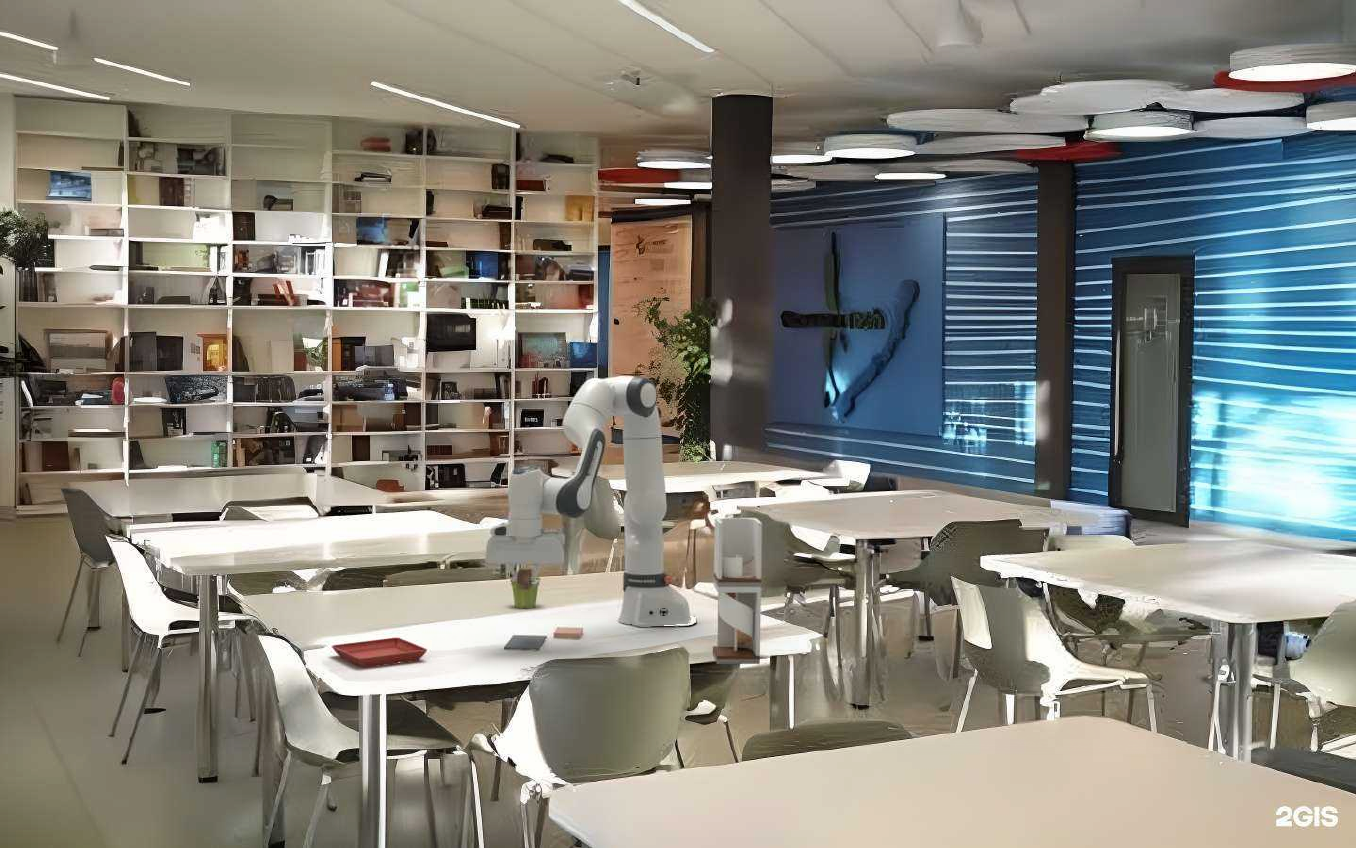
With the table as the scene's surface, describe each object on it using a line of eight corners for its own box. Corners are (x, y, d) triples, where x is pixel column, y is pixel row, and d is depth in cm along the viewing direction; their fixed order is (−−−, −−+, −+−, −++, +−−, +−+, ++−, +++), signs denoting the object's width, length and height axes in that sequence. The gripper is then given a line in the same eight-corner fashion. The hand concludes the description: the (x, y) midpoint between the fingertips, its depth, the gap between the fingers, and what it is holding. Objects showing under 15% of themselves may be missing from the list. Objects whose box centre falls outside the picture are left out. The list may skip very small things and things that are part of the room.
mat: (546, 638, 369) (546, 635, 369) (538, 650, 353) (538, 648, 353) (513, 637, 369) (513, 635, 369) (503, 649, 354) (503, 647, 353)
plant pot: (525, 610, 409) (525, 581, 409) (502, 607, 415) (503, 578, 415) (547, 606, 417) (547, 578, 417) (524, 603, 423) (524, 575, 422)
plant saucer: (359, 671, 328) (359, 657, 328) (330, 657, 343) (330, 644, 343) (428, 662, 339) (428, 649, 338) (397, 650, 353) (398, 637, 353)
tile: (579, 640, 368) (583, 635, 376) (579, 633, 368) (583, 627, 376) (553, 640, 369) (557, 634, 377) (553, 633, 369) (557, 627, 377)
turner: (539, 582, 367) (539, 565, 367) (532, 590, 354) (532, 572, 354) (520, 581, 367) (520, 564, 367) (513, 589, 354) (513, 572, 354)
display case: (712, 654, 351) (714, 517, 350) (753, 654, 352) (756, 518, 351) (716, 664, 340) (719, 523, 339) (759, 664, 341) (762, 523, 339)
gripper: (566, 528, 359) (565, 580, 360) (488, 526, 360) (488, 579, 361) (563, 530, 353) (563, 584, 354) (484, 529, 354) (483, 582, 354)
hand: (524, 581), depth 357 cm, fingers closed on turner, 3 cm apart
